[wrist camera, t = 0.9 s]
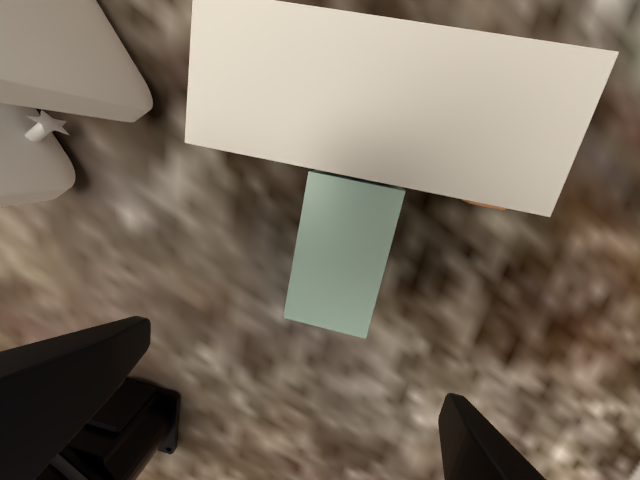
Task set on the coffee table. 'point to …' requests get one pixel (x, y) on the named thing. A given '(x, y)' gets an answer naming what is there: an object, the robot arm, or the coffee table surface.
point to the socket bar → (392, 99)
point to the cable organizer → (57, 89)
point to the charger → (341, 251)
